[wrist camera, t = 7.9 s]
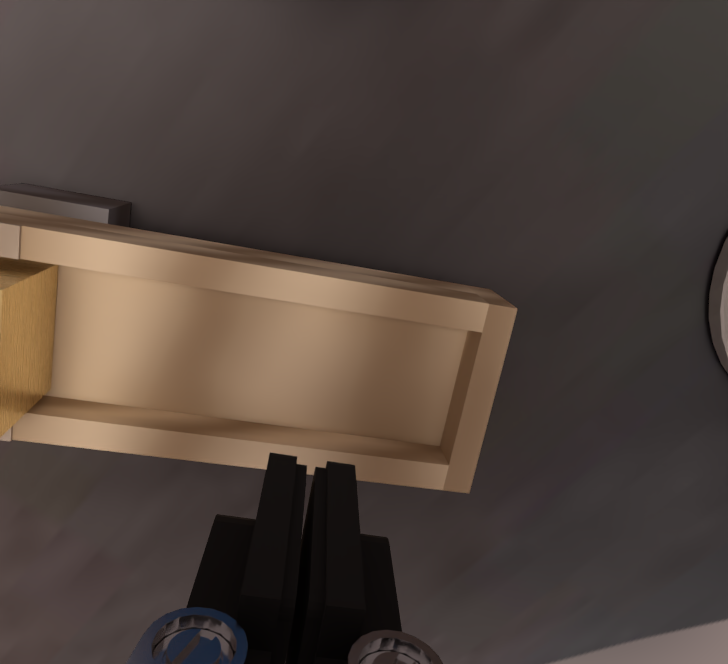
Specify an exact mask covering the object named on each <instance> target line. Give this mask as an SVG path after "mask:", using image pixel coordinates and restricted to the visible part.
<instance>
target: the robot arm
mask: <svg viewBox="0 0 728 664" xmlns="http://www.w3.org/2000/svg"><path fill="white" fill-rule="evenodd" d="M709 324H710V330H711V335H712V341H713V345H714V347H715V350H716V352H717V355H718V357H719V359H720V362H721V364H722V366H723V367H724V369H725V370H726V371H727V373H728V237H727V238H726V240H725V242H724V245H723V248H722V250H721V253H720V255H719V258H718V260H717V263H716V266H715V269H714V274H713V278H712V283H711V288H710V293H709ZM306 473H307V465H301V464H297V456H291V455H284V454H277V453H270V454H269V459H268V464H267V469H266V474H265V478H264V483H263V488H262V493H261V498H260V503H259V508H258V513H257V517H256V520H255V519H248V518H241V517H233V516H226V515H218V514H217V515H216V517H215V520H214V523H213V526H212V529H211V532H210V535H209V538H208V542H207V545H206V548H205V551H204V554H203V557H202V560H201V564H200V567H199V570H198V573H197V576H196V579H195V582H194V586H193V589H192V592H191V595H190V598H189V601H188V605H187V608H183V609H179V610H176V611H173V612H170V613H167V614H165V615H164V616H162V617H161V618H159V619H158V620H156V621H154V622H153V623H152V624H151V626H150V627H149V628H148V629H147V630H146V631H145V633H144V634H143V636H142V637H141V639H140V641H139V642H138V644H137V646H136V647H135V649H134V651H133V652H132V654H131V656H130V657H129V659H128V660H127V662H126V664H443V663H442V661H441V659H440V657H439V656H438V655H437V654H436V653H435V652H434V651H433V650H432V649H431V648H430V647H429V646H428V645H427V644H426V643H424V642H423V641H421V640H419V639H418V638H416V637H414V636H412V635H409V634H406V633H403V632H402V629H401V622H400V615H399V608H398V601H397V594H396V587H395V580H394V573H393V567H392V560H391V553H390V546H389V541H388V539H387V538H386V537H380V536H373V535H366V534H360V524H359V510H358V496H357V483H356V469H355V465H352V464H345V463H338V462H332V461H327V464H326V468H321V467H315V471H314V476H313V481H312V487H311V492H310V497H309V503H308V508H307V513H306V519H305V524H304V529H303V535H302V524H303V511H304V499H305V486H306ZM301 537H302V540H301Z"/></svg>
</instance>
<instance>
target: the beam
mask: <svg viewBox="0 0 728 664" xmlns="http://www.w3.org/2000/svg"><path fill="white" fill-rule="evenodd" d="M130 212H131V202H126V201H120V200H115V199H109V198H103V197H98V196H92V195H86V194H81V193H75V192H69V191H64V190H58V189H52V188H47V187H41V186H36V185H30V184H24V183H20V184H12V185H3V186H0V257H6V258H12V259H24V260H31V261H37V262H43V263H49V264H56V265H58V281H57V298H56V315H55V331H54V348H53V365H52V382H51V389H50V390H49V391H48V392H47V393H46V394H45V395H44V396H43V397H42V398H41V399H40V400H39V401H38V402H37V403H36V404H35V405H34V406H33V407H32V408H31V409H30V410H29V411H27V412H26V413H25V414H24V415H23V416H22V417H21V418H20V419H19V420H18V421H17V422H16V423H15V424H14V425H13V426H12V427H11V428H10V429H9V430H8V431H7V432H6V433H5V434H4V435H3V436H2V437H1V438H0V440H4V441H11V440H20V441H28V442H37V443H45V444H54V445H62V446H71V447H79V448H88V449H96V450H105V451H113V452H122V453H130V454H139V455H147V456H156V457H164V458H173V459H181V460H190V461H198V462H207V463H215V464H224V465H232V466H241V467H249V468H258V469H267V464H268V459H269V454H270V453H277V454H284V455H291V456H297V464H301V465H307V473H306V474H309V475H314V471H315V467H321V468H326V464H327V461H332V462H338V463H345V464H352V465H355V469H356V480H360V481H368V482H377V483H385V484H394V485H402V486H411V487H419V488H428V489H436V490H445V491H453V492H462V493H469V492H470V488H471V485H472V481H473V477H474V473H475V469H476V466H477V462H478V458H479V454H480V450H481V446H482V443H483V439H484V435H485V431H486V427H487V424H488V420H489V416H490V412H491V408H492V405H493V401H494V397H495V393H496V389H497V386H498V382H499V378H500V374H501V370H502V367H503V363H504V359H505V355H506V351H507V347H508V344H509V340H510V336H511V332H512V328H513V325H514V321H515V317H516V313H517V308H516V307H515V306H513V305H512V304H510V303H509V302H508V301H506V300H505V299H503V298H502V297H501V296H499V295H498V294H496V293H495V292H494V291H492V290H491V289H485V288H479V287H474V286H468V285H462V284H456V283H450V282H444V281H439V280H433V279H427V278H421V277H415V276H409V275H404V274H398V273H392V272H386V271H380V270H374V269H368V268H363V267H357V266H351V265H345V264H339V263H333V262H328V261H322V260H316V259H310V258H304V257H298V256H293V255H287V254H281V253H275V252H269V251H263V250H257V249H252V248H246V247H240V246H234V245H228V244H222V243H217V242H211V241H205V240H199V239H193V238H187V237H182V236H176V235H170V234H164V233H158V232H152V231H146V230H141V229H135V228H129V223H130Z"/></svg>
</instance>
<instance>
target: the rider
mask: <svg viewBox="0 0 728 664" xmlns="http://www.w3.org/2000/svg"><path fill="white" fill-rule="evenodd" d="M57 281H58V265H56V264H49V263H43V262H37V261H31V260H24V259H12V258H6V257H0V438H1V437H2V436H3V435H4V434H5V433H6V432H7V431H8V430H9V429H10V428H11V427H12V426H13V425H14V424H15V423H16V422H17V421H18V420H19V419H20V418H21V417H22V416H23V415H24V414H25V413H26V412H27V411H29V410H30V409H31V408H32V407H33V406H34V405H35V404H36V403H37V402H38V401H39V400H40V399H41V398H42V397H43V396H44V395H45V394H46V393H47V392H48V391H49V390H50V389H51V382H52V365H53V348H54V331H55V315H56V298H57Z"/></svg>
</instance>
